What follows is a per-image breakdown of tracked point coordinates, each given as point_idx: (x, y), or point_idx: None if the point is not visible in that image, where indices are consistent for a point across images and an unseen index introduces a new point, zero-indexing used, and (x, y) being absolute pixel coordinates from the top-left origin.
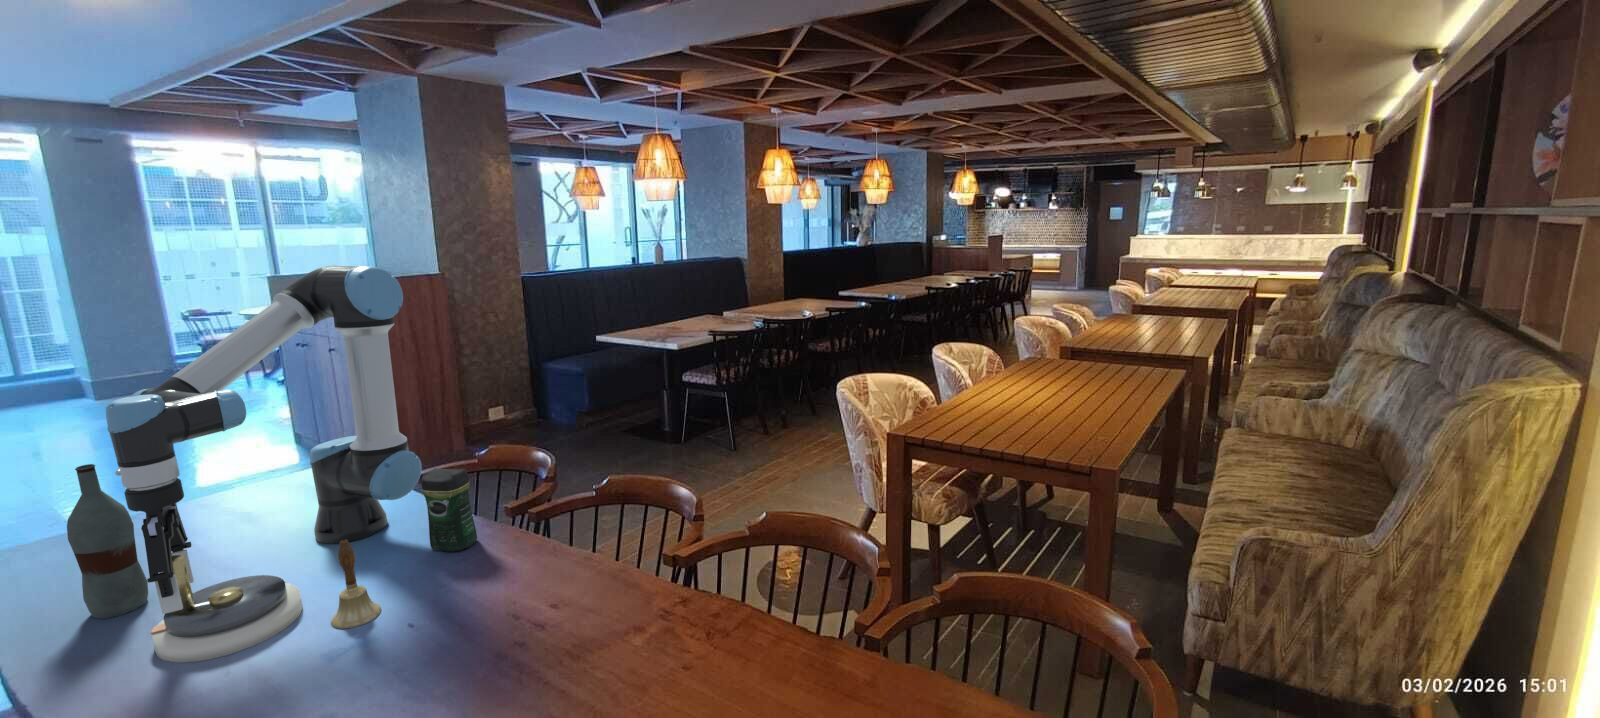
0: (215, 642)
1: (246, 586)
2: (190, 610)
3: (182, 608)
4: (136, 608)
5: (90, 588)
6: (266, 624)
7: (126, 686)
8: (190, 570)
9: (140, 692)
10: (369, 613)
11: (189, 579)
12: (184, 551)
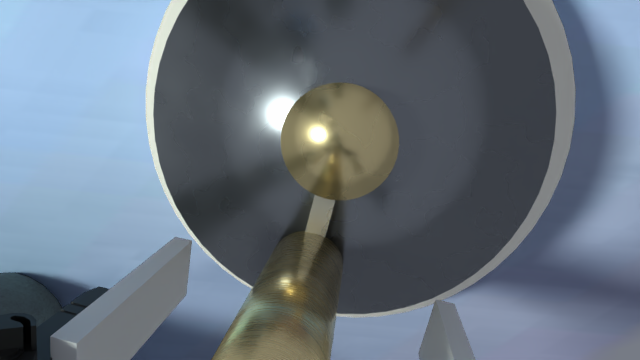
0: (552, 193)
1: (267, 62)
2: (336, 246)
3: (451, 304)
4: (51, 295)
5: None
6: (565, 39)
7: (484, 351)
8: (159, 268)
9: (549, 334)
10: None
11: (182, 257)
12: (78, 349)
